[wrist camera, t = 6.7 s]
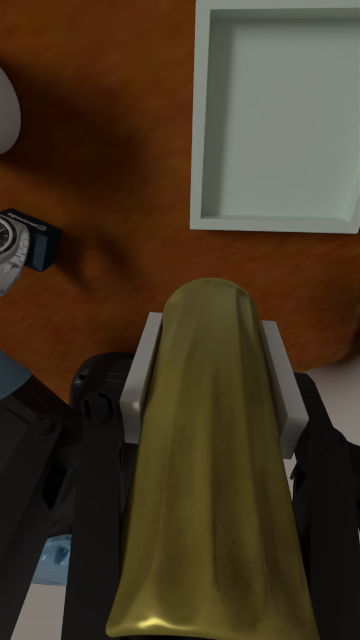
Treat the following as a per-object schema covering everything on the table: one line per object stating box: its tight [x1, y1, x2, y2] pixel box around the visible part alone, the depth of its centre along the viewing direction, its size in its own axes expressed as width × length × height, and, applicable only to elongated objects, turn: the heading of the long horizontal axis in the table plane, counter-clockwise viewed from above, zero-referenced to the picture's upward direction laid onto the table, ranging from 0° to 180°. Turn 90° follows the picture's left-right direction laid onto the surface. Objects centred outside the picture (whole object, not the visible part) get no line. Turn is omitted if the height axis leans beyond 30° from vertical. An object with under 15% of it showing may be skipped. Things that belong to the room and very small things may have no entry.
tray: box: [190, 0, 360, 233], centre depth 24 cm, size 16×16×3 cm
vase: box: [106, 278, 321, 640], centre depth 12 cm, size 6×6×14 cm
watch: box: [0, 208, 61, 297], centre depth 27 cm, size 6×8×11 cm
